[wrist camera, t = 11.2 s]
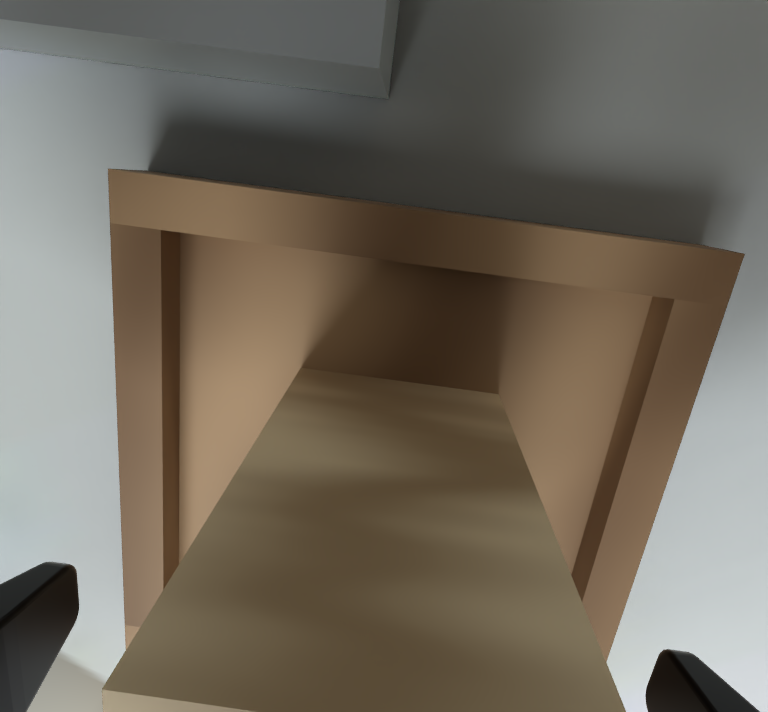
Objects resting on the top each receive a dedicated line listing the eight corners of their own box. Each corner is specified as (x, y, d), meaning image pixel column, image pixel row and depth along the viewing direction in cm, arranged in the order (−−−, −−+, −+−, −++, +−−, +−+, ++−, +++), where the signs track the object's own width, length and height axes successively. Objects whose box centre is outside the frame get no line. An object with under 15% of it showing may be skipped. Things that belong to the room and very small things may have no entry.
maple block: (498, 394, 12) (648, 768, 4) (464, 558, 13) (531, 1057, 6) (300, 367, 12) (101, 689, 4) (287, 533, 13) (121, 995, 6)
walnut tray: (702, 245, 11) (744, 254, 10) (569, 671, 15) (586, 721, 14) (146, 170, 11) (107, 168, 10) (153, 611, 15) (125, 655, 14)
